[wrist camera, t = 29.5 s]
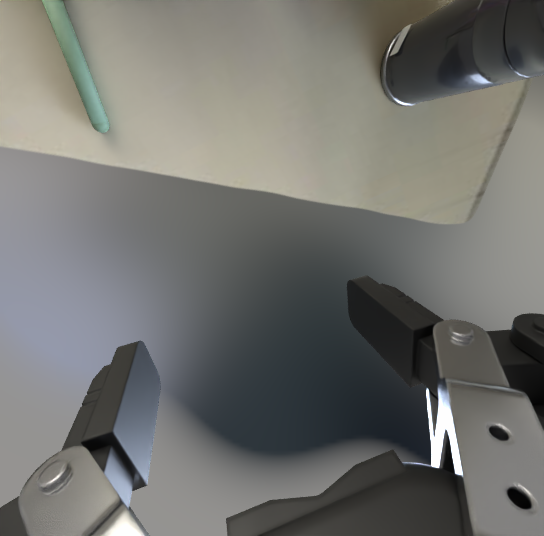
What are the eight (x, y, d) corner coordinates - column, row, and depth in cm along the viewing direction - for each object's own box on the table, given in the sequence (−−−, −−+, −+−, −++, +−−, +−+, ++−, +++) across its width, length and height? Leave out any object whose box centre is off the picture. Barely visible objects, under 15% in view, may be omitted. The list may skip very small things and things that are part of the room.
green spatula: (127, 129, 34) (124, 128, 32) (84, 136, 33) (78, 135, 31) (33, -135, 25) (22, -155, 23) (-30, -133, 24) (-46, -154, 22)
